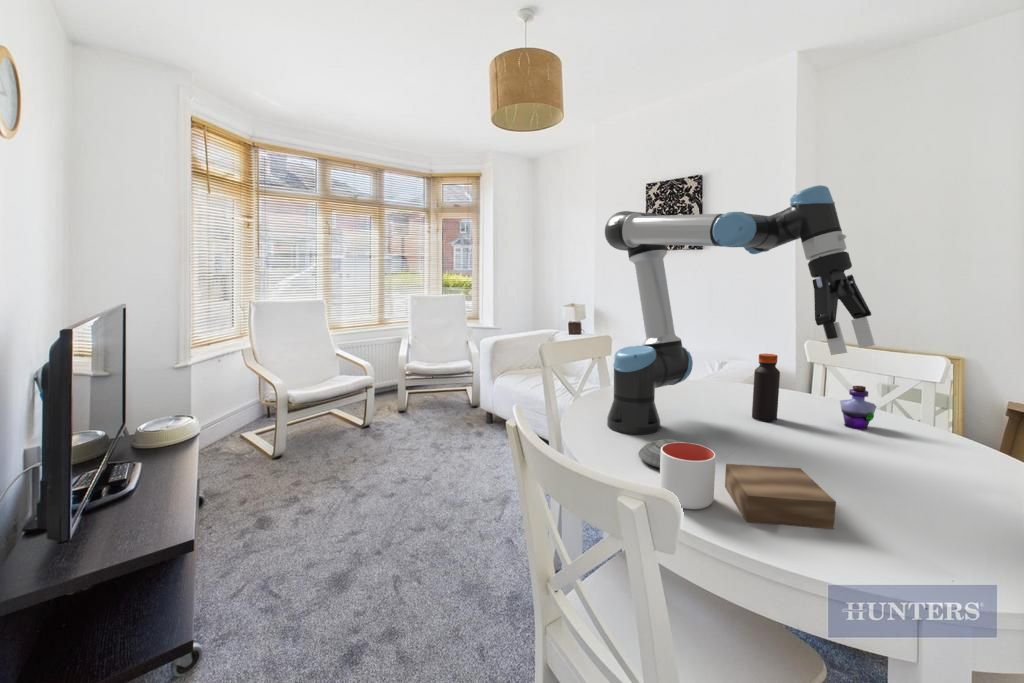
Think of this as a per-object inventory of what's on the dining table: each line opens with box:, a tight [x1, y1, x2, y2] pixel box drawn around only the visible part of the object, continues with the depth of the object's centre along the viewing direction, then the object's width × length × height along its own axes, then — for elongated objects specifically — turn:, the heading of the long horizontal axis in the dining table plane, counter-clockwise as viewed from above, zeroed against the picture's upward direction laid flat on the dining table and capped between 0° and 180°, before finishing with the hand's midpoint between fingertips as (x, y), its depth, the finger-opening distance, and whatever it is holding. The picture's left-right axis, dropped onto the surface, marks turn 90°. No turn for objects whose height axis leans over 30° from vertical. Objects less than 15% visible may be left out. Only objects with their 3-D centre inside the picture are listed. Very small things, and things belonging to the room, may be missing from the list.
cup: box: [659, 441, 717, 510], centre depth 88 cm, size 10×10×10 cm
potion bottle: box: [839, 385, 877, 431], centre depth 128 cm, size 9×9×12 cm
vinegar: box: [751, 353, 781, 423], centre depth 136 cm, size 7×7×20 cm
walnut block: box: [724, 463, 837, 530], centre depth 85 cm, size 14×14×5 cm
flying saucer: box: [638, 438, 686, 469], centre depth 106 cm, size 15×15×6 cm
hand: (853, 350), depth 96 cm, fingers open, 13 cm apart
